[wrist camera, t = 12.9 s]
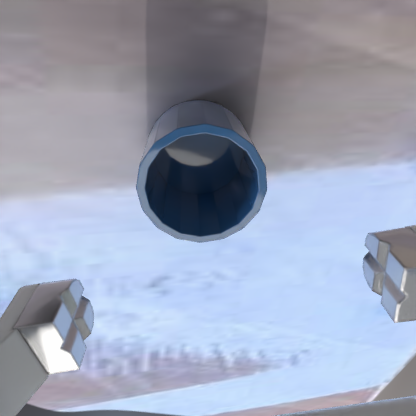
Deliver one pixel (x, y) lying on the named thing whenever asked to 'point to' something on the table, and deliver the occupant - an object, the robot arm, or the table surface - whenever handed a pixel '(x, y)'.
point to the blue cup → (200, 173)
